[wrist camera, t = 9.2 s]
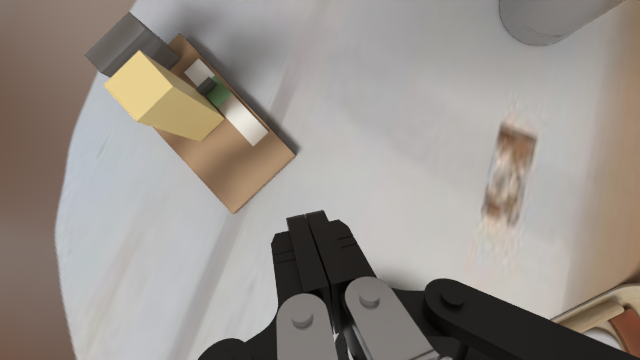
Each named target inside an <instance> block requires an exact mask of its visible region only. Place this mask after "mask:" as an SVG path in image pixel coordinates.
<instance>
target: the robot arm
mask: <svg viewBox="0 0 640 360" xmlns="http://www.w3.org/2000/svg"><path fill="white" fill-rule="evenodd" d="M623 1H625V0H500V7H499V9H500V16H501V19H502V22H503V24H504V26H505V28H506V29H507V31H508V32H509V33H510V34H511V35H512V36H513V37H515V38H516V39H518V40H519V41H521V42H523V43H526V44H529V45H535V46H546V45H550V44H554V43H556V42H558V41H560V40H562V39H564V38H565V37H567V36H569V35H570V34H572V33H574V32H575V31H577V30H578V29H580V28H582V27H583V26H585V25H586V24H588V23H590V22H591V21H593V20H594V19H596V18H598V17H599V16H601V15H603V14H604V13H606V12H607V11H609V10H611V9H612V8H614V7H615V6H617V5H619V4H620V3H622V2H623ZM286 220H287V226H288V231H286V232H281V233H277V234H275V236H274V238H273V241H272V243H271V248H272V255H273V264H274V272H275V280H276V288H277V296H278V309H277V313H276V315H275V317H274V319H273V320H272V322H271V323H270V324H269V326H268V327H266V328H265V329H264V330H263V331H262V332H260V333H259V334H257V335H256V336H254V337H253V338H251V339H249V340H248V341H246V342H243V341H241V340H239V339H235V338H229V339H224V340H221V341H218V342H217V343H215V344H213V345H212V346H210V347H209V348H208V349H207V350H206V351H204V352H203V354H202V355H201V356H200V357H199V358H198V360H338V356H337V352H336V347H335V343H334V338H333V335H334V333H333V327H334V330H335V334H337V333H341V332H343V333H344V336H345V339H346V341H347V344H348V355H349V359H350V360H640V358H638V357H636V356H634V355H631V354H629V353H627V352H624V351H622V350H619V349H617V348H615V347H612V346H610V345H608V344H605V343H603V342H600V341H598V340H596V339H593V338H591V337H589V336H586V335H584V334H581V333H579V332H577V331H574V330H572V329H570V328H567V327H565V326H562V325H560V324H558V323H555V322H553V321H551V320H548V319H546V318H543V317H541V316H539V315H536V314H534V313H531V312H529V311H527V310H524V309H522V308H520V307H517V306H515V305H512V304H510V303H508V302H505V301H503V300H501V299H498V298H496V297H493V296H491V295H489V294H486V293H484V292H482V291H479V290H477V289H474V288H472V287H470V286H467V285H465V284H463V283H460V282H458V281H455V280H451V279H445V278H444V279H436V280H433V281H431V282H430V283H429V284H428V285H427V286H426V288H425V291H406V290H398V289H394V288H391V287H389V285H387V284H386V283H385V282H384V281H382V280H380V279H378V278H377V277H376V275H375V274H374V272H373V270H372V268H371V266H370V265H369V263H368V261H367V259H366V257H365V256H364V254H363V252H362V250H361V249H360V247H359V245H358V244H357V241H356V240H355V238H354V237H353V234H352V233H351V231H350V229H349V227H348V226H347V225H346V224H344V223H343V222H341V221H340V220H339V219H338V220H334V221H330V222H329V221H328V219H327V217H326V214H325V212H324V211H323V210H321V211H316V212H311V213H307V214H305V215H304V214H303V215H298V216H293V217H289V218H286Z"/></svg>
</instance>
